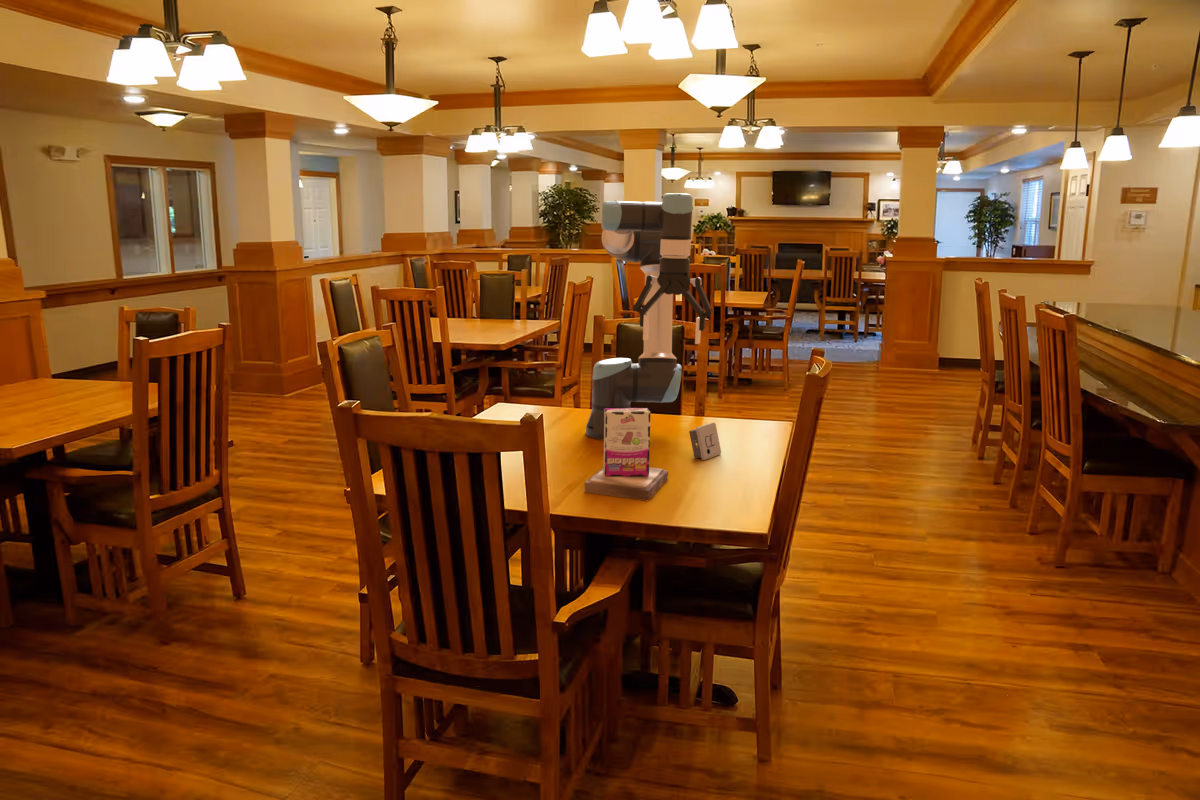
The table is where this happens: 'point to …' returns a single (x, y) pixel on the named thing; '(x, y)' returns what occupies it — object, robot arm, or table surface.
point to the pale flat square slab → (627, 484)
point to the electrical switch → (705, 441)
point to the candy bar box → (626, 441)
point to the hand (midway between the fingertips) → (671, 341)
